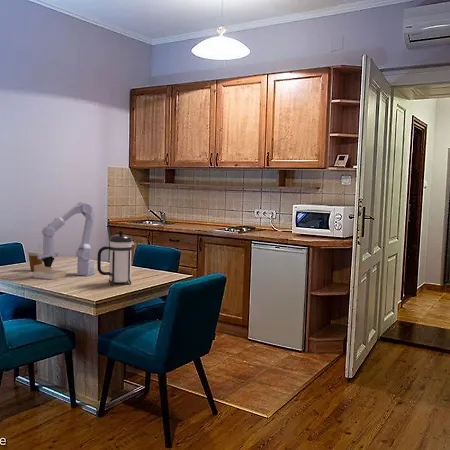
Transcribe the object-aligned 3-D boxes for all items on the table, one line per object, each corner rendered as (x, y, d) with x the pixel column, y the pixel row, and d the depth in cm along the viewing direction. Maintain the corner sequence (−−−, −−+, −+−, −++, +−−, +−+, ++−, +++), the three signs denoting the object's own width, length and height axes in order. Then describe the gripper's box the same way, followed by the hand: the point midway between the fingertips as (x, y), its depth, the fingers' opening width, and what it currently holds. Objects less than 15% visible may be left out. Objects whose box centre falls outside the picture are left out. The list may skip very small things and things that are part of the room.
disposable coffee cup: (38, 272, 298) (38, 253, 297) (24, 271, 300) (24, 252, 299) (47, 269, 307) (47, 251, 306) (33, 268, 309) (33, 250, 308)
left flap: (52, 267, 280) (51, 267, 280) (50, 273, 279) (50, 273, 279) (37, 265, 283) (37, 265, 283) (36, 271, 282) (36, 271, 282)
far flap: (46, 263, 293) (46, 263, 293) (34, 265, 283) (33, 265, 283) (46, 268, 293) (46, 268, 293) (34, 271, 283) (34, 271, 283)
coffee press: (117, 279, 286) (118, 228, 284) (138, 282, 278) (139, 230, 276) (96, 283, 271) (97, 230, 269) (117, 287, 263) (118, 232, 261)
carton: (66, 276, 289) (66, 271, 289) (53, 279, 278) (53, 274, 278) (47, 274, 294) (47, 269, 294) (32, 277, 282) (32, 272, 282)
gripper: (44, 248, 275) (44, 272, 276) (62, 246, 288) (62, 268, 289) (34, 247, 278) (34, 271, 279) (53, 245, 291) (52, 267, 292)
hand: (48, 269), depth 284 cm, fingers closed
